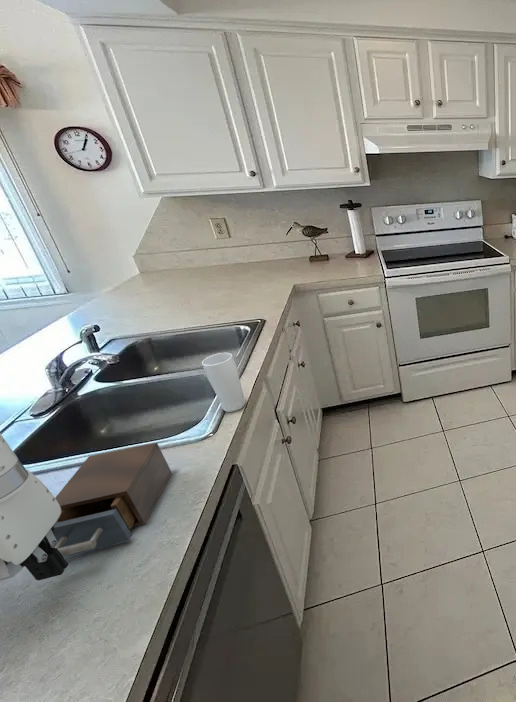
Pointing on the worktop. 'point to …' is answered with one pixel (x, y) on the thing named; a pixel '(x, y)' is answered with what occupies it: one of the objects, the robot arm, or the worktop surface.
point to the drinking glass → (224, 380)
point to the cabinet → (120, 480)
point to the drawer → (93, 526)
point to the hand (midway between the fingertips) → (53, 572)
